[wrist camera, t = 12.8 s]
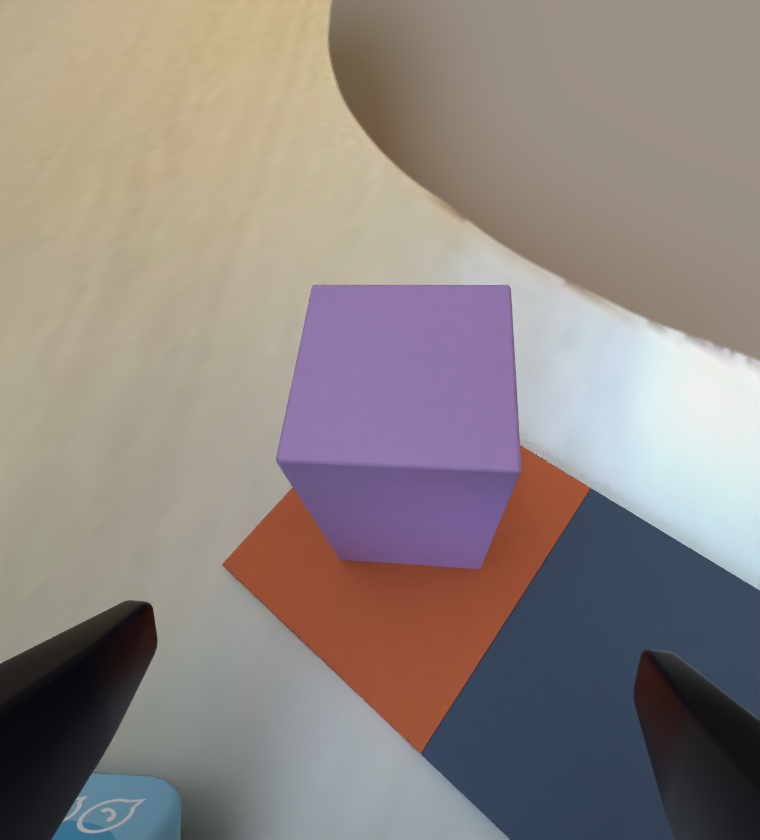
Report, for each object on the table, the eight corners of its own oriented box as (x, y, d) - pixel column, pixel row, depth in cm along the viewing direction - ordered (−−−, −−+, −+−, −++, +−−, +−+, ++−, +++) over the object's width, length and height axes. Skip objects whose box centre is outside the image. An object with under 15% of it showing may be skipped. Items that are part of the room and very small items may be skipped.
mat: (1234, 884, 12) (1251, 888, 12) (1211, 1504, 8) (1235, 1529, 8) (398, 375, 22) (398, 371, 21) (224, 566, 18) (221, 564, 18)
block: (480, 570, 17) (522, 472, 9) (339, 560, 17) (274, 461, 10) (479, 441, 19) (511, 283, 12) (354, 436, 20) (311, 283, 12)
